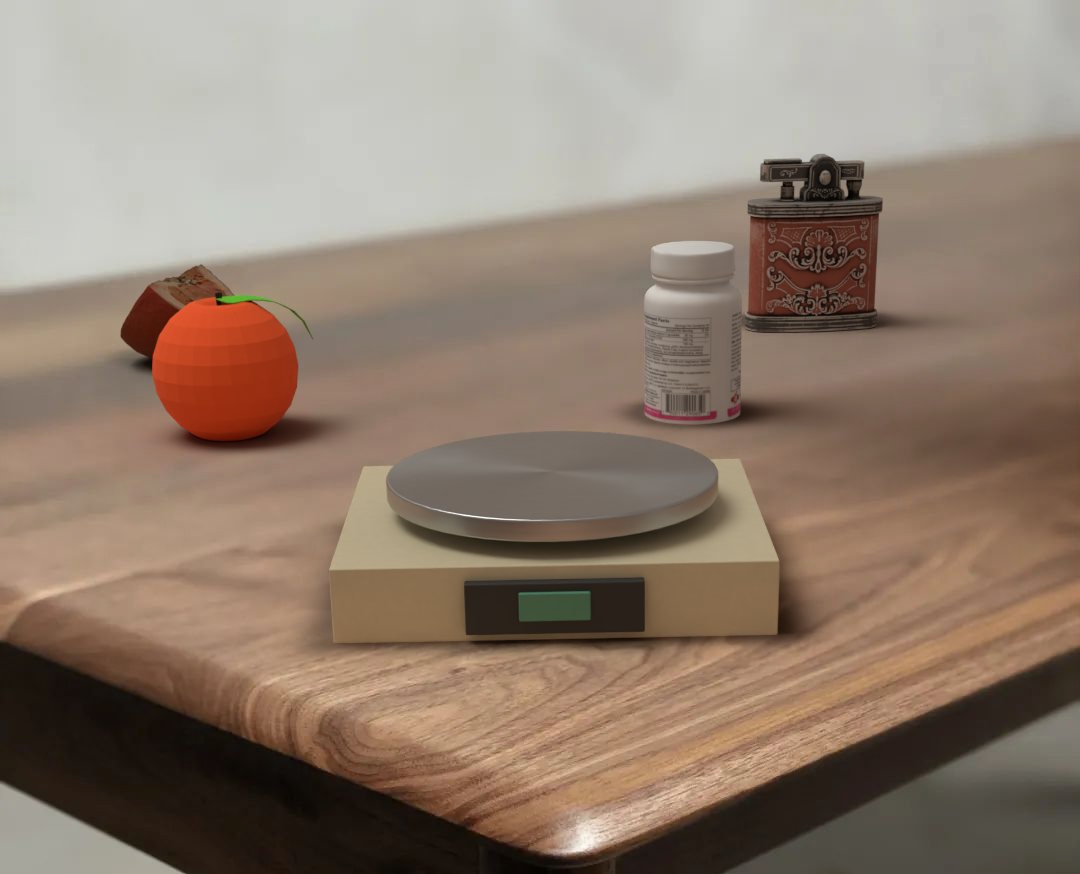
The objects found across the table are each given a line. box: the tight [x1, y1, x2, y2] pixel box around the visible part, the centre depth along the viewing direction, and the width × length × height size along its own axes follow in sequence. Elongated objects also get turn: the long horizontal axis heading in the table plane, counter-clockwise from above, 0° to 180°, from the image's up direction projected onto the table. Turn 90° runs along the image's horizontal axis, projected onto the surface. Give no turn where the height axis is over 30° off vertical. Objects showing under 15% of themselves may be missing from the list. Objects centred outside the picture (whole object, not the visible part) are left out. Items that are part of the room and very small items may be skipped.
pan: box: [386, 430, 718, 542], centre depth 67 cm, size 12×12×1 cm
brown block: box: [119, 264, 236, 360], centre depth 106 cm, size 8×7×5 cm
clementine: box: [151, 292, 314, 442], centre depth 88 cm, size 8×7×7 cm
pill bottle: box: [643, 240, 743, 426], centre depth 90 cm, size 5×5×8 cm
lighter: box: [744, 153, 884, 333], centre depth 110 cm, size 8×3×10 cm, turn 94°
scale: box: [328, 458, 781, 644], centre depth 67 cm, size 15×14×3 cm
